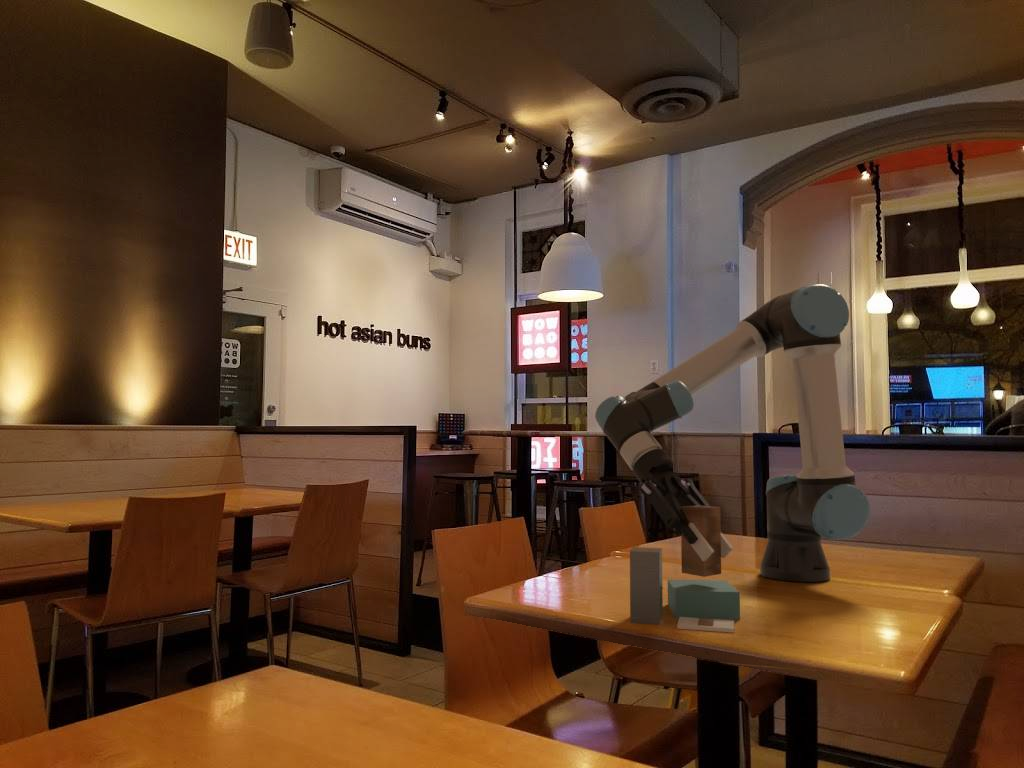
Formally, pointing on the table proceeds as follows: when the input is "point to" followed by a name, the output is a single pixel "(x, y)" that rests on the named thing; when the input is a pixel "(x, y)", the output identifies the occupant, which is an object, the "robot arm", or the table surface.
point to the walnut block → (711, 531)
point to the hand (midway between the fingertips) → (718, 554)
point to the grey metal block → (646, 585)
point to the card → (706, 624)
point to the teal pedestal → (704, 599)
